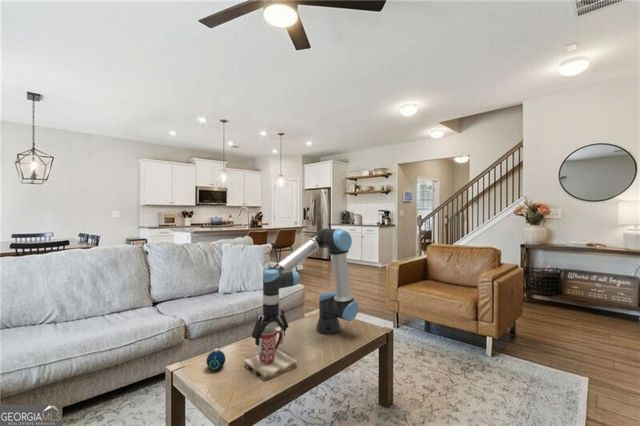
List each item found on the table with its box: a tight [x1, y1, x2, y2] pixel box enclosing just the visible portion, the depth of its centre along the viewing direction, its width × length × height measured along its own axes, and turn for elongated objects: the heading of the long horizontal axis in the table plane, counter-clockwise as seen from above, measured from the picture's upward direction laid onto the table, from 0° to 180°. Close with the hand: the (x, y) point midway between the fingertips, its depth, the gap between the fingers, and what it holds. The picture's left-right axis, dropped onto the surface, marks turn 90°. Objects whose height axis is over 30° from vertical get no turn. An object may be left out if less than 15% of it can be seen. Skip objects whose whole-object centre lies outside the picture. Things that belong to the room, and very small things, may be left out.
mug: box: [258, 326, 282, 362], centre depth 147 cm, size 13×9×14 cm
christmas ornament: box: [206, 347, 226, 371], centre depth 145 cm, size 8×8×10 cm
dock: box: [244, 348, 298, 382], centre depth 147 cm, size 18×18×3 cm
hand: (270, 347), depth 147 cm, fingers closed on mug, 12 cm apart
